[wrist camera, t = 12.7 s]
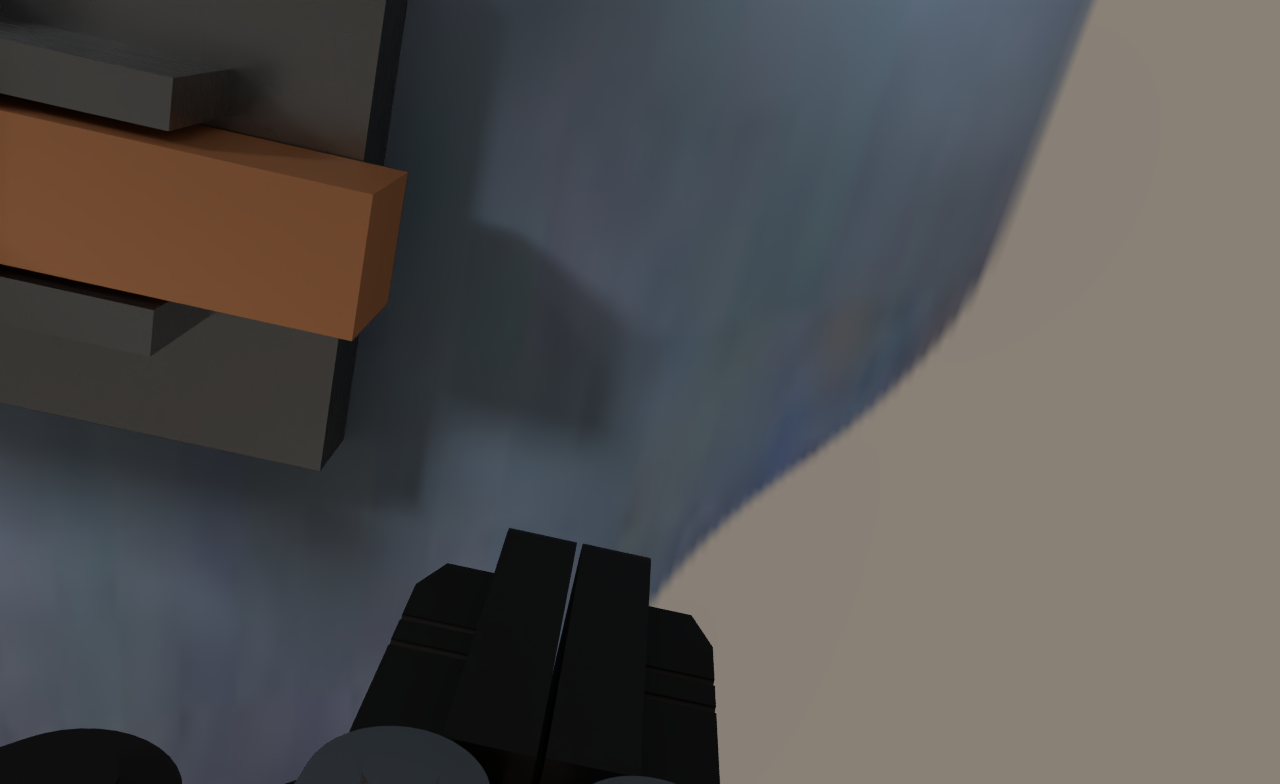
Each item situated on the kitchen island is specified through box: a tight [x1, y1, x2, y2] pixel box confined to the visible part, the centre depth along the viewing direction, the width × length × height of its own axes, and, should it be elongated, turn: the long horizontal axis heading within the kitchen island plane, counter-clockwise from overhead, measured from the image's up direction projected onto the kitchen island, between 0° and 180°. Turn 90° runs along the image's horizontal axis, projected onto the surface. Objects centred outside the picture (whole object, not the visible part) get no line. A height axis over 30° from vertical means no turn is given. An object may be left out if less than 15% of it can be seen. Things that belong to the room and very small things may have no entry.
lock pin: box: [0, 93, 408, 341], centre depth 23 cm, size 9×3×3 cm, turn 77°
